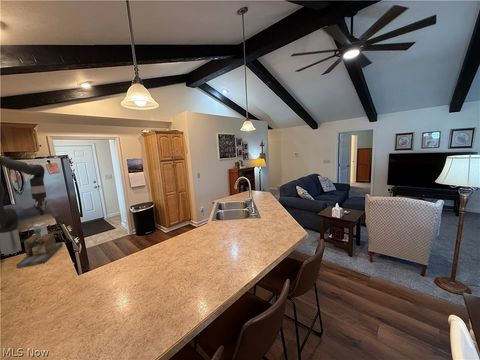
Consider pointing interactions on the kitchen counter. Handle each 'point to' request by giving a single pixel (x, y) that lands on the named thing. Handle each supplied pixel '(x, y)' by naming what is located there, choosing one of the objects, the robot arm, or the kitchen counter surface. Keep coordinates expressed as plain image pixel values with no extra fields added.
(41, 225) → the syrup box
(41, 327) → the kitchen counter surface
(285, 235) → the kitchen counter surface
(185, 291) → the kitchen counter surface
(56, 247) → the tunnel
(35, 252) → the slider block
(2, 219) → the robot arm
